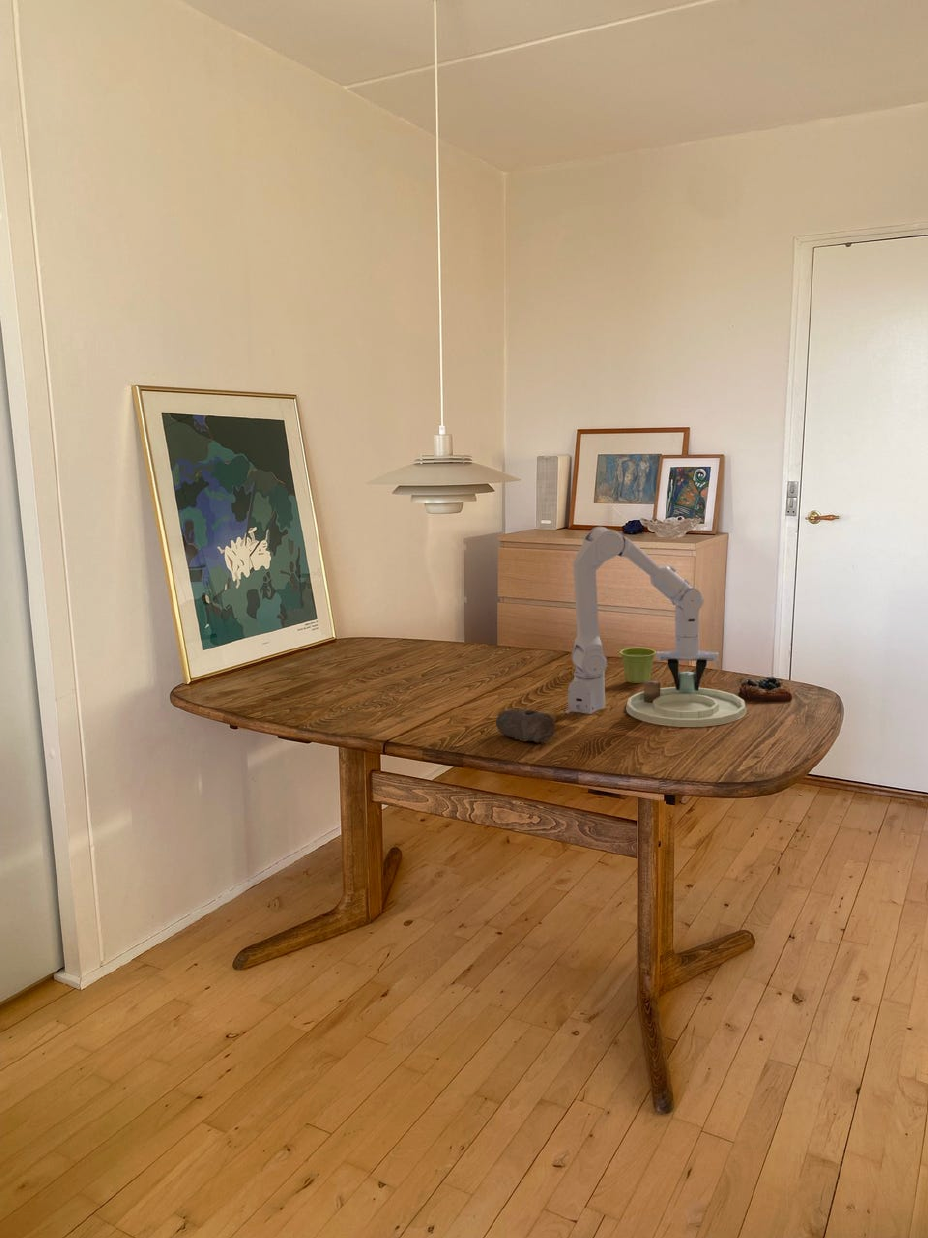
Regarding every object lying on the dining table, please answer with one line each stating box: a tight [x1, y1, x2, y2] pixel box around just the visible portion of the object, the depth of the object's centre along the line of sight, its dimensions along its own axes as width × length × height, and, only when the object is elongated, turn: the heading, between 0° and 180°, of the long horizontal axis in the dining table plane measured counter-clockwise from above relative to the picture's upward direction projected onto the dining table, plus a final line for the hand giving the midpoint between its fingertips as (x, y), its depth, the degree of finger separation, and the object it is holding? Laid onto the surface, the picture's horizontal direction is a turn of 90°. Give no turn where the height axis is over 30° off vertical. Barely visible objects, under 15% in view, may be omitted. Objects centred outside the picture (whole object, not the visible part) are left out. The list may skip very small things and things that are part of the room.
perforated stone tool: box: [495, 708, 555, 744], centre depth 207 cm, size 15×5×7 cm, turn 47°
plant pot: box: [619, 647, 657, 684], centre depth 247 cm, size 9×9×9 cm
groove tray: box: [625, 686, 747, 728], centre depth 221 cm, size 28×28×2 cm
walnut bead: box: [643, 680, 661, 703], centre depth 228 cm, size 4×4×5 cm
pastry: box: [738, 676, 793, 703], centre depth 228 cm, size 11×12×6 cm
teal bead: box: [679, 671, 696, 694], centre depth 229 cm, size 4×4×5 cm
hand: (687, 689), depth 230 cm, fingers closed on teal bead, 4 cm apart
